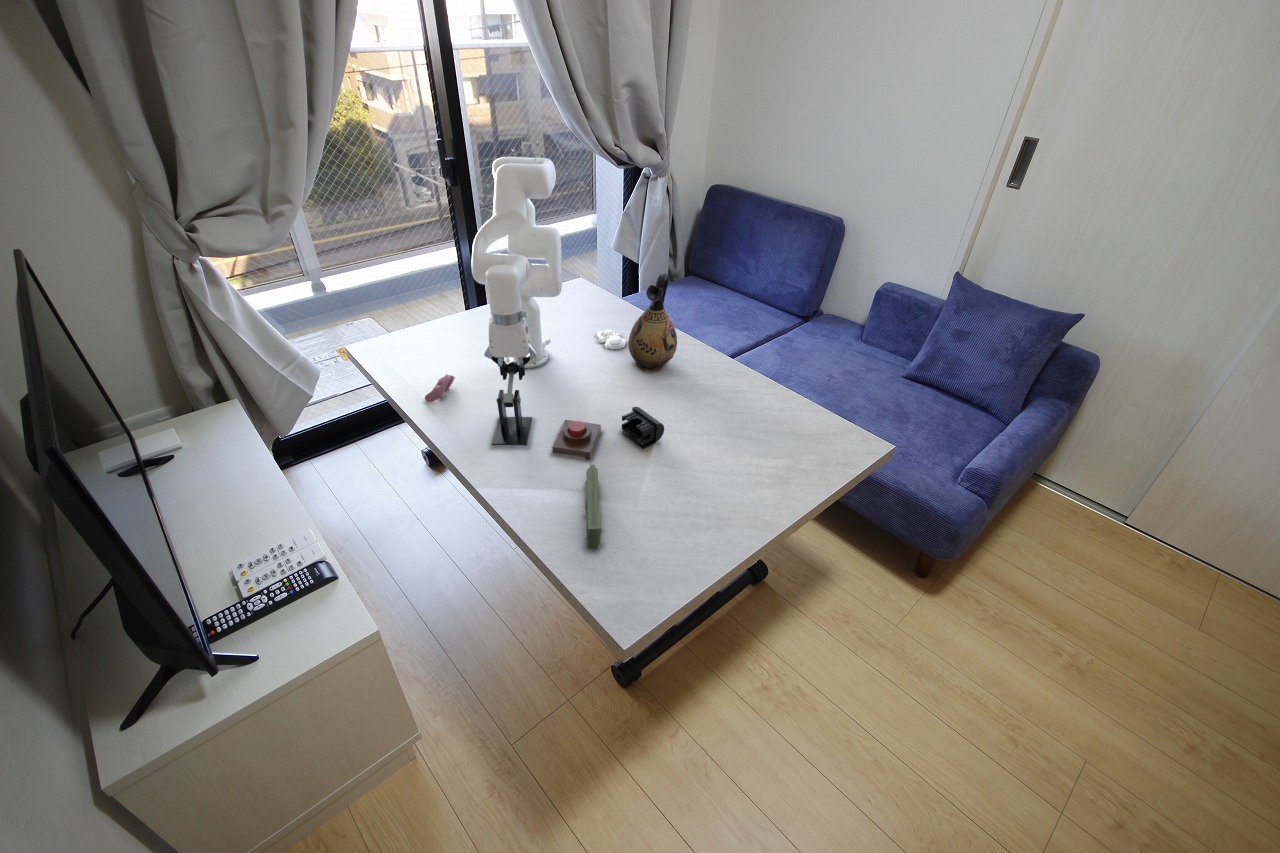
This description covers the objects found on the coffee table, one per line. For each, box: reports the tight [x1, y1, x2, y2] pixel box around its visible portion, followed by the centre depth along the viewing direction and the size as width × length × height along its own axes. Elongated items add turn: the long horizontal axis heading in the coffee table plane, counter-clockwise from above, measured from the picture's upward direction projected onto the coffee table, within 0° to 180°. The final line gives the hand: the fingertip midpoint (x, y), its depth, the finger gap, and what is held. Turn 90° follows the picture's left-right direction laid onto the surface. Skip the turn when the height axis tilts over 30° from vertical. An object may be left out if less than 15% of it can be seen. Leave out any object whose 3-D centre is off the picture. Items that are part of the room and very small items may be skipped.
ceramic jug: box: [627, 272, 678, 373], centre depth 176 cm, size 17×15×30 cm
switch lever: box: [503, 361, 519, 408], centre depth 149 cm, size 13×4×4 cm, turn 3°
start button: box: [568, 420, 585, 436], centre depth 148 cm, size 4×4×2 cm
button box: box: [551, 419, 602, 461], centre depth 150 cm, size 12×10×4 cm
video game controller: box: [424, 373, 456, 403], centre depth 164 cm, size 10×5×7 cm, turn 168°
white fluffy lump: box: [596, 329, 627, 350], centre depth 194 cm, size 9×12×3 cm
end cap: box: [621, 406, 665, 450], centre depth 153 cm, size 10×7×7 cm
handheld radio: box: [584, 463, 602, 551], centre depth 131 cm, size 7×3×25 cm
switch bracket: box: [491, 389, 533, 446], centre depth 149 cm, size 12×9×13 cm
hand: (513, 376), depth 153 cm, fingers closed on switch lever, 3 cm apart
